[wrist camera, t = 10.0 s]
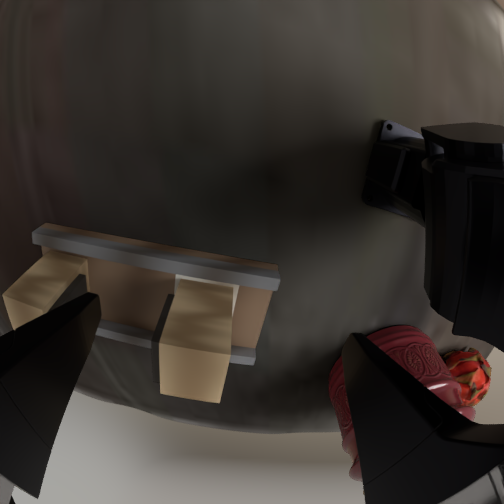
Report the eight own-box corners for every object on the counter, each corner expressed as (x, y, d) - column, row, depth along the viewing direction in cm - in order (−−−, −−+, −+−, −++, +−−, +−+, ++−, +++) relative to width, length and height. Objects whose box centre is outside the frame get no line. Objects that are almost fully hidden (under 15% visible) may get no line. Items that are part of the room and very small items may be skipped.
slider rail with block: (277, 264, 22) (293, 335, 15) (252, 348, 26) (256, 420, 18) (45, 222, 19) (-13, 266, 12) (57, 306, 23) (19, 359, 16)
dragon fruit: (463, 361, 32) (417, 346, 32) (505, 347, 25) (464, 328, 24) (457, 413, 28) (408, 407, 27) (502, 406, 21) (459, 401, 20)
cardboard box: (233, 287, 21) (230, 354, 15) (223, 335, 23) (219, 403, 17) (172, 276, 21) (148, 340, 14) (170, 326, 23) (152, 391, 16)
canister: (445, 336, 27) (514, 448, 11) (378, 403, 32) (415, 511, 16) (377, 306, 24) (465, 474, 8) (302, 390, 29) (328, 535, 13)
